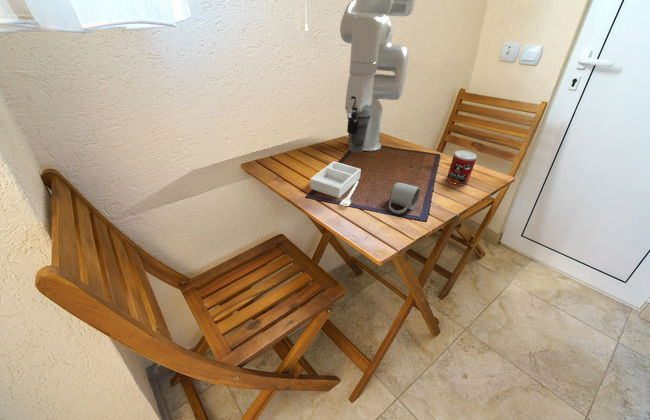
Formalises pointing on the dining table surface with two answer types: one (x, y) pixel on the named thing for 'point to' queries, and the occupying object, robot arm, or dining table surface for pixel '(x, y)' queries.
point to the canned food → (461, 167)
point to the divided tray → (335, 179)
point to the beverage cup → (360, 130)
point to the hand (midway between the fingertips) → (357, 129)
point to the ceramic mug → (403, 196)
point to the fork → (347, 199)
